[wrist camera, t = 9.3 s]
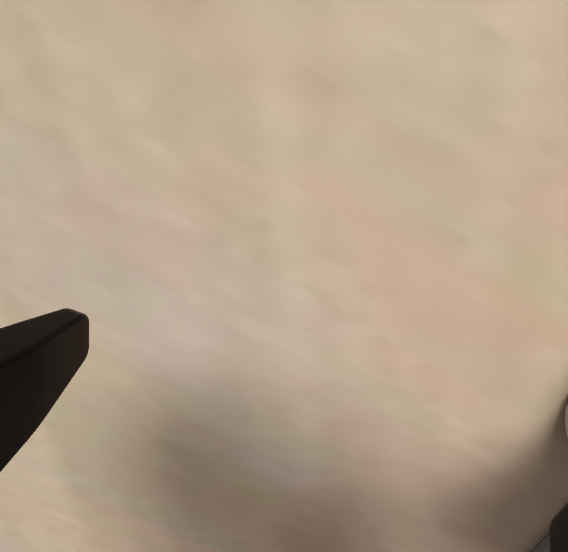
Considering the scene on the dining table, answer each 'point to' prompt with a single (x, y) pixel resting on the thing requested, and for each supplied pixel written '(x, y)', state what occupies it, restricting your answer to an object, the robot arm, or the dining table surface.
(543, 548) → the mat
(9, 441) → the robot arm
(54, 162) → the dining table surface
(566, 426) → the cup
